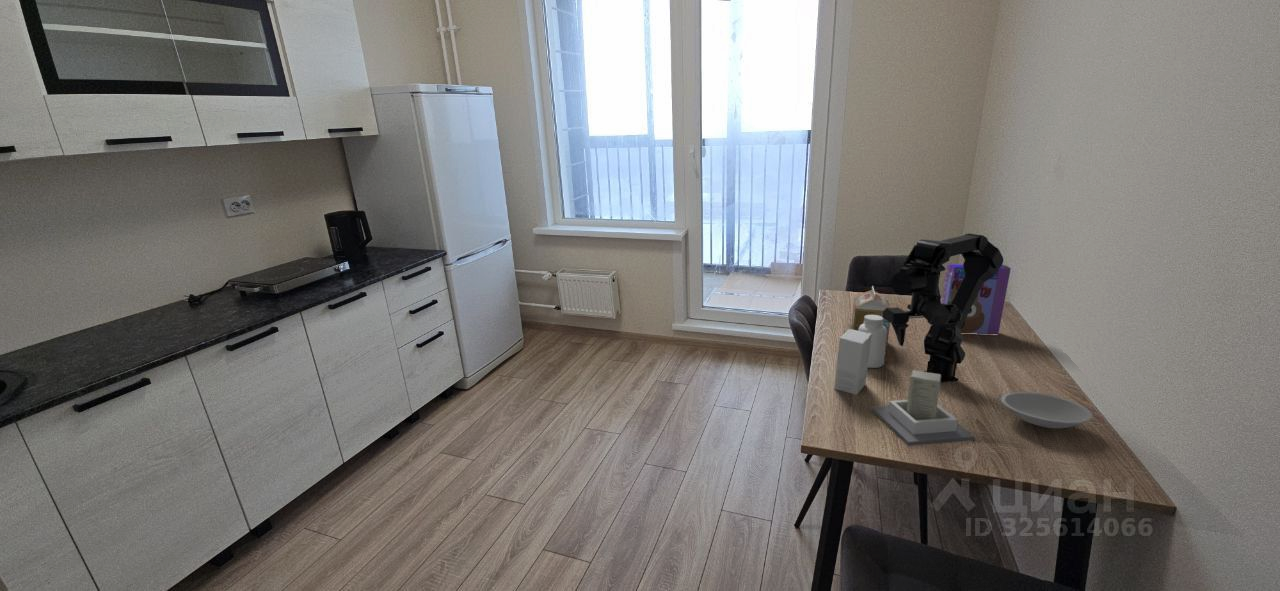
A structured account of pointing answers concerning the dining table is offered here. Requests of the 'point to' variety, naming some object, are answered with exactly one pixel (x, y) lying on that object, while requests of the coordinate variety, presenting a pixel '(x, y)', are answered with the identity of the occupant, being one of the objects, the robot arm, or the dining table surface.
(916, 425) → the socket stand
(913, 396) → the skincare box
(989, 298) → the cereal box
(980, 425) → the dining table surface
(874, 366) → the pill bottle
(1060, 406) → the dish
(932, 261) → the robot arm
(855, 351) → the skincare box
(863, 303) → the milk carton
